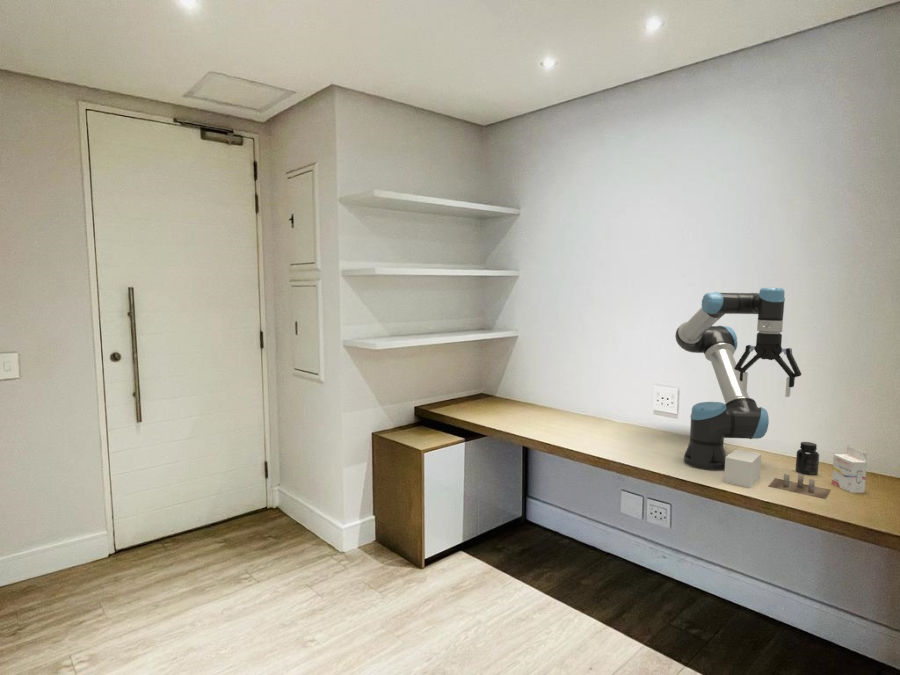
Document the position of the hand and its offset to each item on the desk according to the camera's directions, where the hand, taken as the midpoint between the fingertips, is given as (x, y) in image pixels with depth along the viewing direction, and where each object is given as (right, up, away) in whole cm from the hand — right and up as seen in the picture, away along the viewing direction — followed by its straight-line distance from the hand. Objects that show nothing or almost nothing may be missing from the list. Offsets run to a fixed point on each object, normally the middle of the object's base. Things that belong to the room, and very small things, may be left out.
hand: (765, 393), depth 191 cm
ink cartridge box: (+21, -32, -10) cm, 40 cm away
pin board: (+5, -31, -10) cm, 34 cm away
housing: (-10, -31, -3) cm, 32 cm away
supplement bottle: (+18, -30, +6) cm, 36 cm away
